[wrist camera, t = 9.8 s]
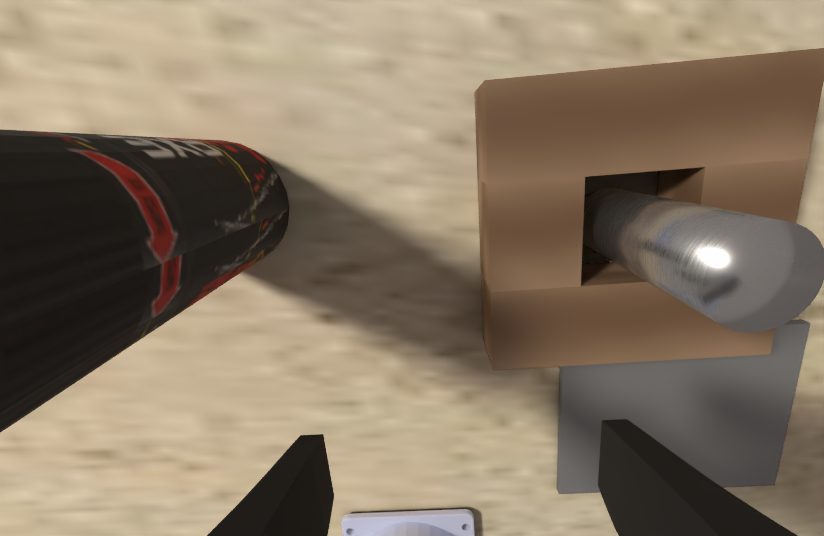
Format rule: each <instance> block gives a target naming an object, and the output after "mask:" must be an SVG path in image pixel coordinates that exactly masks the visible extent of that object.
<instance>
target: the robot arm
mask: <svg viewBox="0 0 824 536" xmlns="http://www.w3.org/2000/svg"><path fill="white" fill-rule="evenodd" d="M598 487H599V489H600V492H601V495H602V497H603V500H604V502H605V505H606V508H607V510H608V512H609V515H610V517H611V520H612V522H613V525H614V527H615V529H616V531H617V533H618V535H619V536H797V535H796V534H794V533H792V532H791V531H789V530H787V529H786V528H784V527H783V526H781V525H779V524H778V523H776V522H774V521H773V520H771V519H770V518H768V517H767V516H765V515H763V514H762V513H760V512H759V511H757V510H756V509H754V508H753V507H751V506H750V505H748V504H746V503H745V502H743V501H742V500H740V499H739V498H737V497H736V496H734V495H733V494H731V493H730V492H728V491H727V490H725V489H724V488H722V487H721V486H719V485H718V484H717V483H715V482H714V481H712V480H711V479H709V478H708V477H706V476H705V475H704V474H702V473H701V472H699V471H698V470H697V469H695V468H694V467H692V466H691V465H690V464H688V463H687V462H685V461H684V460H683V459H681V458H680V457H678V456H677V455H676V454H674V453H673V452H672V451H670V450H669V449H668V448H666V447H665V446H663V445H662V444H661V443H659V442H658V441H657V440H655V439H654V438H652V437H651V436H650V435H648V434H647V433H646V432H644V431H643V430H642V429H640V428H639V427H637V426H636V425H635V424H633V423H632V422H630V421H629V420H627V419H616V420H602V426H601V442H600V458H599V474H598ZM333 499H334V493H333V487H332V482H331V476H330V470H329V465H328V459H327V453H326V448H325V442H324V436H323V434H320V435H301V436H300V437H299V438H298V439H297V440H296V441H295V442H294V443H293V444H292V445H291V447H290V448H289V449H288V450H287V451H286V452H285V453H284V454H283V456H282V457H281V458H280V459H279V460H278V461H277V462H276V463H275V465H274V466H273V467H272V468H271V469H270V470H269V471H268V472H267V474H266V475H265V476H264V477H263V478H262V479H261V480H260V481H259V482H258V483H257V485H256V486H255V487H254V488H253V489H252V490H251V491H250V492H249V493H248V494H247V495H246V496H245V498H244V499H243V500H242V501H241V502H240V503H239V504H238V505H237V506H236V507H235V508H234V509H233V510H232V511H231V512H230V513H229V514H228V515H227V516H226V517H225V518H224V519H223V520H222V521H221V522H220V523H219V524H218V525H217V526H216V527H215V528H214V529H213V530H212V531H211V532H210V533H209V534H208V535H207V536H327V534H328V529H329V523H330V518H331V512H332V505H333ZM464 524H466V525H464ZM341 526H342V532H343V536H475V531H474V516H473V513H472V512H471V511H470V510H468V509H453V510H428V511H403V512H378V513H353V514H346V515H344V516H343V518H342V522H341ZM350 528H351V529H350Z"/></svg>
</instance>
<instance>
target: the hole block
mask: <svg viewBox="0 0 824 536" xmlns="http://www.w3.org/2000/svg"><path fill="white" fill-rule="evenodd" d="M823 81H824V48H820V49H809V50H799V51H788V52H778V53H767V54H757V55H746V56H736V57H725V58H715V59H704V60H694V61H683V62H673V63H662V64H652V65H641V66H631V67H620V68H610V69H599V70H589V71H578V72H568V73H557V74H547V75H536V76H526V77H515V78H505V79H494V80H485V81H484V82H483V83H482V84H481V85H480V87H479V88H478V89H477V90H476V91H475V116H476V144H477V172H478V201H479V229H480V258H481V286H482V315H483V340H484V343H485V346H486V350H487V353H488V356H489V359H490V362H491V365H492V369H493V370H507V369H524V368H541V367H559V366H576V365H593V364H611V363H628V362H645V361H663V360H680V359H697V358H715V357H732V356H749V355H766V354H770V353H771V348H772V343H773V338H774V332H775V328H774V329H771V330H767V331H762V332H755V333H745V332H738V331H734V330H731V329H728V328H726V327H724V326H722V325H721V324H719V323H717V322H715V321H714V320H712V319H710V318H709V317H707V316H705V315H703V314H702V313H700V312H698V311H697V310H695V309H693V308H691V307H690V306H688V305H686V304H685V303H683V302H681V301H680V300H678V299H676V298H674V297H673V296H671V295H669V294H668V293H666V292H664V291H662V290H661V289H659V288H657V287H656V286H654V285H652V284H650V283H649V282H647V281H645V280H644V279H642V278H640V277H638V276H637V275H635V274H633V273H632V272H630V271H628V270H626V269H625V268H623V267H621V266H620V265H618V264H616V263H614V262H609V263H595V264H582V244H583V219H584V194H585V177H588V176H600V175H612V174H625V173H637V172H649V171H659V182H658V193H657V196H658V197H664V198H669V199H674V200H679V201H684V202H689V203H694V204H700V205H705V206H710V207H715V208H720V209H725V210H730V211H736V212H741V213H746V214H751V215H756V216H761V217H766V218H771V219H777V220H782V221H787V222H792V223H795V224H796V220H797V215H798V209H799V204H800V199H801V194H802V189H803V184H804V179H805V174H806V168H807V163H808V158H809V153H810V148H811V143H812V138H813V133H814V127H815V122H816V117H817V112H818V107H819V102H820V97H821V92H822V86H823Z"/></svg>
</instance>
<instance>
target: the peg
mask: <svg viewBox="0 0 824 536" xmlns="http://www.w3.org/2000/svg"><path fill="white" fill-rule="evenodd" d="M583 244H584V245H586V246H587V247H589V248H591V249H592V250H594V251H596V252H597V253H599V254H601V255H602V256H604V257H606V258H608V259H609V260H611V261H613V262H614V263H616V264H618V265H620V266H621V267H623V268H625V269H626V270H628V271H630V272H632V273H633V274H635V275H637V276H638V277H640V278H642V279H644V280H645V281H647V282H649V283H650V284H652V285H654V286H656V287H657V288H659V289H661V290H662V291H664V292H666V293H668V294H669V295H671V296H673V297H674V298H676V299H678V300H680V301H681V302H683V303H685V304H686V305H688V306H690V307H691V308H693V309H695V310H697V311H698V312H700V313H702V314H703V315H705V316H707V317H709V318H710V319H712V320H714V321H715V322H717V323H719V324H721V325H722V326H724V327H726V328H728V329H731V330H734V331H738V332H745V333H755V332H762V331H767V330H771V329H774V328H777V327H779V326H781V325H784V324H785V323H787V322H789V321H791V320H792V319H794V318H795V317H797V316H798V315H799V314H800V313H801V312H803V311H804V310H805V309H806V308H807V307H808V306H809V305H810V303H811V302H812V301H813V300H814V298H815V297H816V295H817V294H818V292H819V290H820V288H821V286H822V283H823V280H824V248H823V246H822V244H821V242H820V241H819V239H818V238H817V237H816V236H815V235H814V234H813V233H812V232H811V231H810V230H808V229H807V228H805V227H803V226H801V225H799V224H795V223H792V222H787V221H782V220H777V219H771V218H766V217H761V216H756V215H751V214H746V213H741V212H736V211H730V210H725V209H720V208H715V207H710V206H705V205H700V204H694V203H689V202H684V201H679V200H674V199H669V198H664V197H658V196H653V195H648V194H643V193H638V192H633V191H628V190H622V189H617V188H605V189H601V190H598V191H596V192H594V193H592V194H591V195H589V196H588V197H587V198H586V199H585V200H584V219H583Z"/></svg>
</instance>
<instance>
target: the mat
mask: <svg viewBox="0 0 824 536" xmlns="http://www.w3.org/2000/svg"><path fill="white" fill-rule="evenodd" d="M809 327H810V323H809V322H806V321H804V320H794V321H789V322H787V323H785V324H784V325H781V326H779V327H777V328H775V332H774V338H773V343H772V348H771V353H770V354H766V355H749V356H732V357H715V358H697V359H680V360H663V361H645V362H628V363H611V364H593V365H576V366H560V386H559V424H558V462H557V490H558V493H559V494H574V493H598V492H600V489H599V487H598V474H599V458H600V442H601V426H602V420H616V419H627V420H629V421H630V422H632V423H633V424H635V425H636V426H637V427H639V428H640V429H642V430H643V431H644V432H646V433H647V434H648V435H650V436H651V437H652V438H654V439H655V440H657V441H658V442H659V443H661V444H662V445H663V446H665V447H666V448H668V449H669V450H670V451H672V452H673V453H674V454H676V455H677V456H678V457H680V458H681V459H683V460H684V461H685V462H687V463H688V464H690V465H691V466H692V467H694V468H695V469H697V470H698V471H699V472H701V473H702V474H704V475H705V476H706V477H708V478H709V479H711V480H712V481H714V482H715V483H717V484H718V485H719V486H721V487H743V486H767V485H775V480H776V476H777V471H778V467H779V462H780V458H781V453H782V449H783V444H784V440H785V435H786V431H787V426H788V422H789V417H790V413H791V408H792V404H793V399H794V395H795V390H796V386H797V381H798V377H799V372H800V368H801V363H802V358H803V354H804V349H805V345H806V340H807V336H808V331H809Z"/></svg>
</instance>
